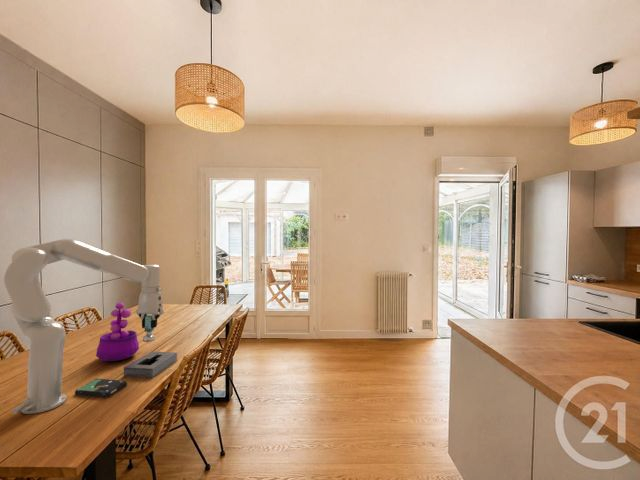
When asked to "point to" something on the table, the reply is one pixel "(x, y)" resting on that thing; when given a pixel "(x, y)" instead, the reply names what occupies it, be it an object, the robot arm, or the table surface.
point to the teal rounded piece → (148, 329)
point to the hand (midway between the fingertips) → (149, 327)
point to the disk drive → (101, 388)
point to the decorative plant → (118, 338)
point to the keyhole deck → (150, 371)
